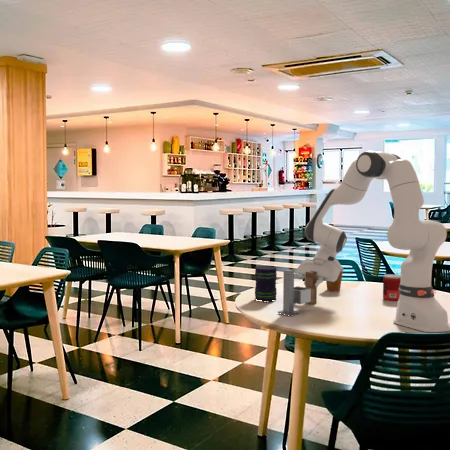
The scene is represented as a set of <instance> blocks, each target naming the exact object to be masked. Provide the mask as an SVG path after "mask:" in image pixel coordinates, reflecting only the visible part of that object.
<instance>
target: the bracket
mask: <svg viewBox="0 0 450 450" xmlns="http://www.w3.org/2000/svg"><path fill="white" fill-rule="evenodd" d="M282 289H283V290H282V291H283V295H282V296H283V299H282V301H283V302H282V304H283V305H282V307H283V308H282V309H283V310H280V311H279V310H278V311H277V314H278V313H281V314H285V315H289V316H290V317H292V316H291V315H294V316H296V315H295V314H297V315H299V314H300V312H299V311H297V310H294V307H295V306H294V305H297V304H298V305H302V304H303V305H304V304H308V303H307V302H311V288H305V287H304V286H295V270H294V269H290V268H289V269H284V270H283V288H282ZM289 316H288V317H289Z"/></svg>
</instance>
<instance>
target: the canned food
mask: <svg viewBox="0 0 450 450" xmlns="http://www.w3.org/2000/svg"><path fill="white" fill-rule="evenodd" d="M382 282H383V283H382V285H383V287H382V298H383V300H385V301H389V302H398V300H399V297H400V293H399V284H400V283H401V274H400V275H399V274H391V273H388V274H387V273H386V274H384V275H383V279H382Z"/></svg>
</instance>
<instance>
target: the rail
mask: <svg viewBox="0 0 450 450" xmlns="http://www.w3.org/2000/svg"><path fill="white" fill-rule="evenodd" d="M317 280H318V279H317V272H316V271H306V273H305V277H304V281H305V285H304V286H305V288H311V302H307V303H306V304H308V305H309V304H310V305H313V304H317V303H318V302H317V300H318V299H317V297H318V296H317V294H318V293H317V292H318V287H314V286H313V284H314V282H316V281H317Z"/></svg>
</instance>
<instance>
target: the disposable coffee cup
mask: <svg viewBox="0 0 450 450" xmlns="http://www.w3.org/2000/svg"><path fill="white" fill-rule="evenodd" d="M341 267H342V268H341V270H340V274H339V276H338V278H337V280H336V281H334V282H332V281H325V283H326V290H327V291H328V292H341V285H342V281H343V280H342V279H343V272H344V266H342V265H341Z"/></svg>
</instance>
